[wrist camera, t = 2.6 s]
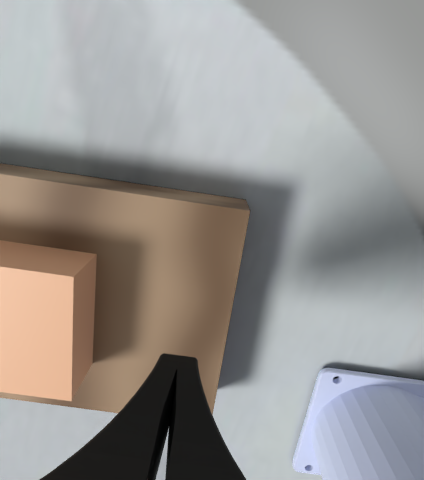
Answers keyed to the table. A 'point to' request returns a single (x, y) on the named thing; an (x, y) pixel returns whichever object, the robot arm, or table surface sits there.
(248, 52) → the table surface
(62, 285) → the block
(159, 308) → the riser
